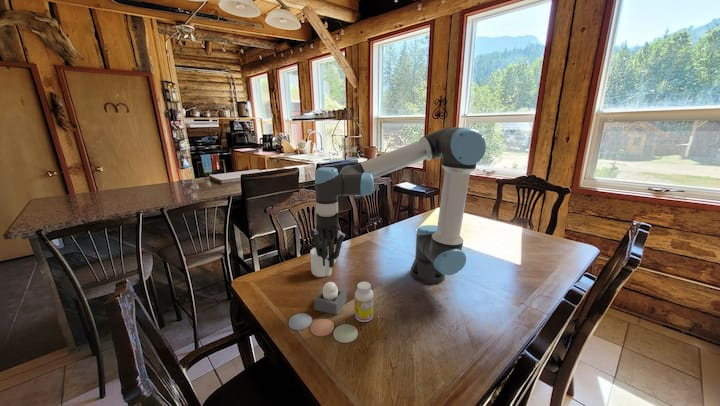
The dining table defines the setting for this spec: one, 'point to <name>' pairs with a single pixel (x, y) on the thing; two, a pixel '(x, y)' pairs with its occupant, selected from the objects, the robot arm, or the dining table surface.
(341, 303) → the housing
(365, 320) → the supplement bottle
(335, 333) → the pad
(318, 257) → the mug
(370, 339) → the dining table surface
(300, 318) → the pad
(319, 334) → the pad
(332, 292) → the white ovoid
